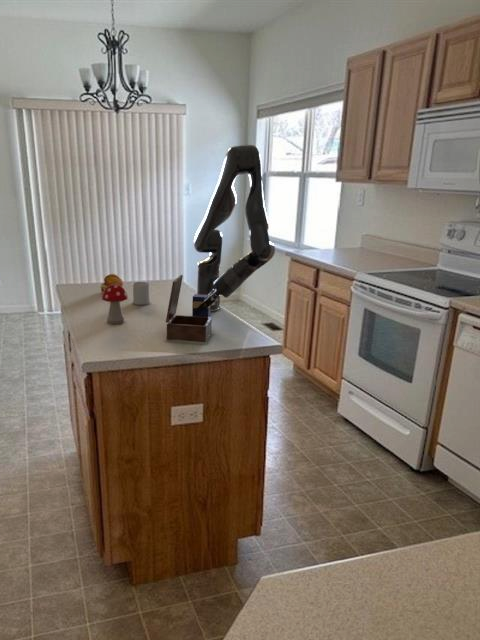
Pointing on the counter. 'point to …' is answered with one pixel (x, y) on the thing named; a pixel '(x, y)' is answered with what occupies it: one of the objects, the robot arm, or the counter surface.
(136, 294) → the cup
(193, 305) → the cookie packet
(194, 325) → the chest
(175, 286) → the lid
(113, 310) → the decorative mushroom
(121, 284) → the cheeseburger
